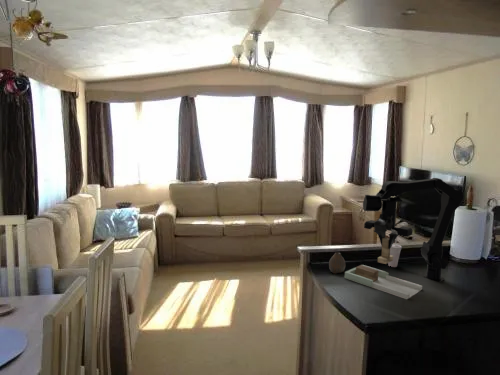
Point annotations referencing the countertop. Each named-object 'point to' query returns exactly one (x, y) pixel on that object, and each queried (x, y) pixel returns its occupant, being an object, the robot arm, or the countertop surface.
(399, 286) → the slot tray
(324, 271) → the countertop surface
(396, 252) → the smoothie
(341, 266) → the vase
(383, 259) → the scraper
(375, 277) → the block
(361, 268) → the block
